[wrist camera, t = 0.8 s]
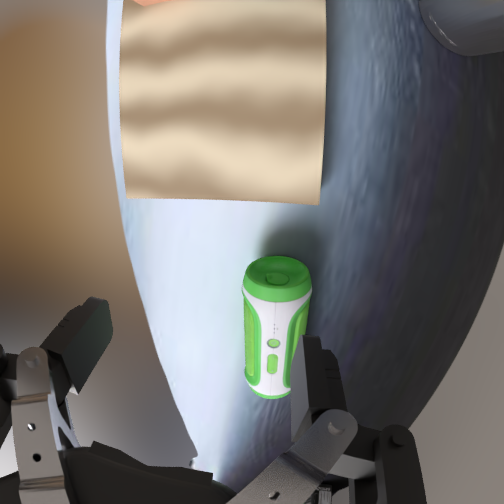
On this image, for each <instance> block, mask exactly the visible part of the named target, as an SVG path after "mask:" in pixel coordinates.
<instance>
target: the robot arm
mask: <svg viewBox="0 0 504 504" xmlns="http://www.w3.org/2000/svg"><path fill="white" fill-rule="evenodd" d="M419 8H420V13H421V16H422V18H423V21H424V22H425V24H426V26H427V28H428V29H429V31H430V32H431V33H432V35H433V36H434V37H435V38H436V39H437V40H438V41H439V42H440V43H441V44H442V45H443V46H445V47H446V48H447V49H449V50H451V51H452V52H454V53H457V54H459V55H463V56H476V55H481V54H487V53H494V52H501V51H504V0H419ZM112 335H113V327H112V321H111V316H110V310H109V304H108V302H107V301H106V300H104V299H100V298H95V297H90V298H88V299H87V300H86V302H85V303H84V304H83V305H82V306H80V305H79V306H77V307H75V308H74V309H72V310H70V311H69V312H68V313H67V314H66V316H65V317H64V318H63V320H61V321H60V322H59V324H58V326H56V327H55V328H54V330H53V331H52V332H51V333H50V334H49V336H48V337H47V338H46V339H45V341H44V342H43V343H42V344H41V345H40V347H29V348H26V349H24V350H23V351H22V352H21V353H20V354H19V355H17V354H9V353H5V351H4V349H3V347H2V345H1V344H0V448H1V446H2V444H3V442H4V440H5V438H6V436H7V434H8V432H9V430H10V428H11V426H13V436H14V444H15V451H16V458H17V464H18V470H19V471H16V472H14V473H12V474H9V475H7V476H4V477H1V478H0V504H304V502H305V501H306V500H307V499H308V498H309V497H310V496H311V494H312V493H313V492H314V491H315V490H316V489H317V487H318V486H319V485H320V484H321V482H322V481H323V480H324V478H325V476H326V475H327V474H328V473H331V474H335V475H339V476H343V477H347V478H349V502H350V504H427V502H426V495H425V489H424V483H423V478H422V473H421V467H420V463H419V458H418V453H417V448H416V444H415V440H414V437H413V435H412V433H411V432H410V431H409V430H408V429H407V428H405V427H403V426H401V425H389V426H387V427H385V428H384V429H383V430H382V431H379V430H375V429H371V428H367V427H363V426H361V425H359V424H357V422H356V420H355V418H354V417H353V416H352V415H351V414H349V413H348V411H347V407H346V401H345V396H344V391H343V386H342V381H341V376H340V372H339V366H338V361H337V359H336V357H335V356H334V354H333V353H332V352H331V350H324V349H322V347H321V341H320V337H319V336H311V335H302V334H301V335H300V337H299V340H298V343H297V346H296V349H295V353H294V356H293V359H292V363H291V369H290V390H291V431H292V442H296V443H295V444H294V445H293V446H292V447H291V448H290V449H289V450H288V451H287V452H286V453H283V454H281V455H280V456H279V457H278V458H277V459H276V460H275V461H274V462H273V463H272V464H271V465H270V466H268V467H267V468H266V469H265V470H264V471H263V472H262V473H261V474H260V475H259V476H258V477H257V478H256V479H254V480H253V481H252V482H251V483H250V484H249V485H248V486H247V487H245V488H244V489H243V490H242V491H241V492H240V493H238V494H237V493H236V492H234V491H233V490H232V489H230V488H229V487H227V486H225V485H223V484H222V483H220V482H217V481H215V480H212V479H213V473H209V472H204V471H198V470H193V469H188V468H183V467H157V466H156V467H155V466H147V465H145V464H143V463H141V462H139V461H138V460H136V459H134V458H132V457H131V456H129V455H127V454H126V453H124V452H122V451H121V450H118V449H115V448H112V447H109V446H107V445H104V444H101V443H99V442H96V441H93V443H92V445H91V447H81V446H80V444H79V442H78V440H77V438H76V435H75V431H74V427H73V423H72V419H71V415H70V410H69V405H68V400H67V398H66V395H67V393H68V392H69V391H70V392H72V393H74V394H77V395H78V394H79V392H80V391H81V389H82V387H83V386H84V384H85V382H86V381H87V379H88V377H89V375H90V374H91V372H92V370H93V369H94V367H95V365H96V364H97V362H98V361H99V359H100V357H101V356H102V354H103V352H104V351H105V349H106V347H107V346H108V344H109V343H110V341H111V338H112Z"/></svg>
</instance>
